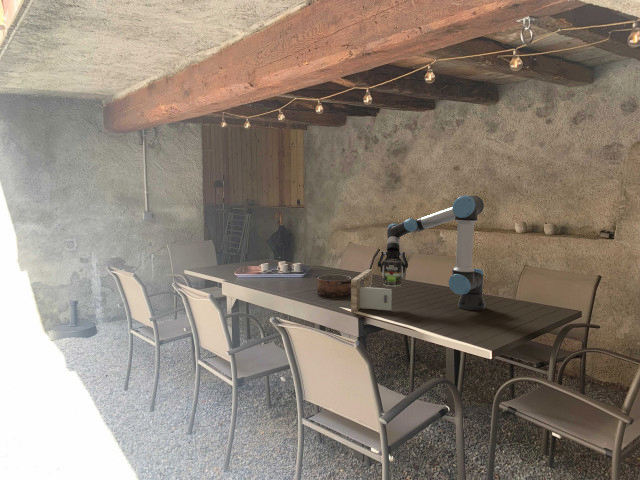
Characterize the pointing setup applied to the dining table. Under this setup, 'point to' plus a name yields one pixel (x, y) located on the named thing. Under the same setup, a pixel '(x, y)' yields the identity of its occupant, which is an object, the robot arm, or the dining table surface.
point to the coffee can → (392, 273)
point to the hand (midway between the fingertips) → (392, 276)
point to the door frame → (356, 288)
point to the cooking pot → (334, 285)
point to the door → (375, 298)
